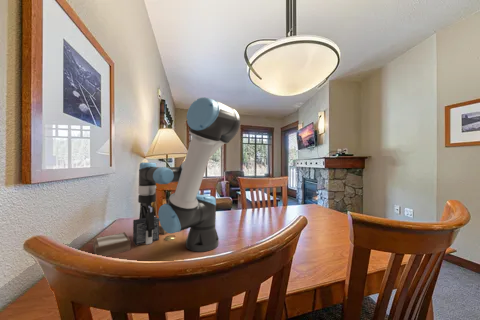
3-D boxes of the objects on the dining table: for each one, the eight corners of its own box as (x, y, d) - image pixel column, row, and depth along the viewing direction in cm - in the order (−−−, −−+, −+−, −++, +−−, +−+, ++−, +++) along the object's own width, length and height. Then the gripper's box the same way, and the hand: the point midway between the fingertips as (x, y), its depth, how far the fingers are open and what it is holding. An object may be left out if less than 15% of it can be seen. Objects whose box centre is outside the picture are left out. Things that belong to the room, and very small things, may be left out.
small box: (155, 236, 98) (156, 215, 98) (159, 240, 93) (159, 218, 93) (132, 241, 92) (132, 219, 92) (135, 245, 87) (135, 222, 87)
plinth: (130, 249, 83) (130, 239, 83) (95, 258, 75) (96, 247, 75) (124, 240, 92) (124, 231, 92) (93, 247, 84) (93, 238, 84)
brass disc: (177, 238, 96) (177, 236, 96) (168, 242, 92) (168, 240, 92) (172, 236, 99) (172, 234, 99) (163, 239, 95) (163, 237, 95)
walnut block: (171, 232, 104) (172, 224, 104) (164, 235, 100) (164, 227, 100) (165, 230, 107) (165, 223, 107) (158, 233, 102) (158, 225, 103)
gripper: (163, 196, 87) (161, 245, 87) (148, 190, 103) (147, 231, 103) (145, 198, 82) (144, 250, 82) (133, 191, 98) (131, 235, 98)
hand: (145, 240), depth 92 cm, fingers open, 9 cm apart
